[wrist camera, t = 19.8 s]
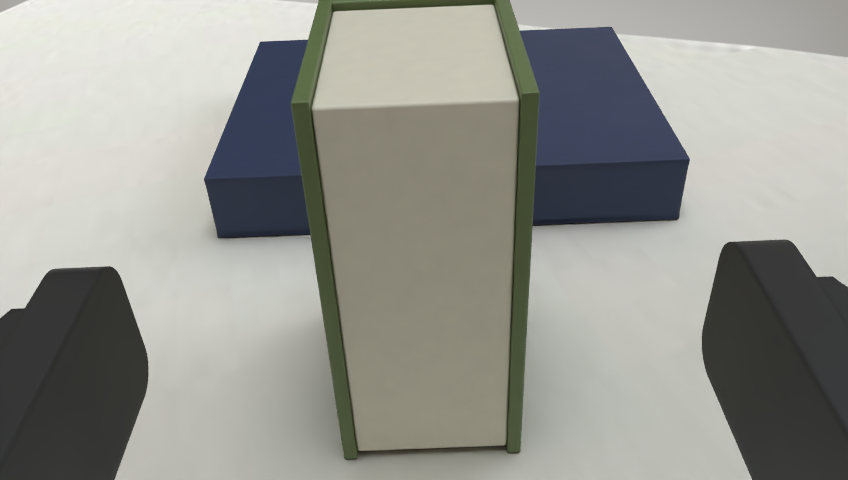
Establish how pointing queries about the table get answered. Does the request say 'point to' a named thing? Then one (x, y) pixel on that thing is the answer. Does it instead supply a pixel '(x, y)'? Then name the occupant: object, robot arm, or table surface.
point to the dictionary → (420, 216)
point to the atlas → (556, 140)
